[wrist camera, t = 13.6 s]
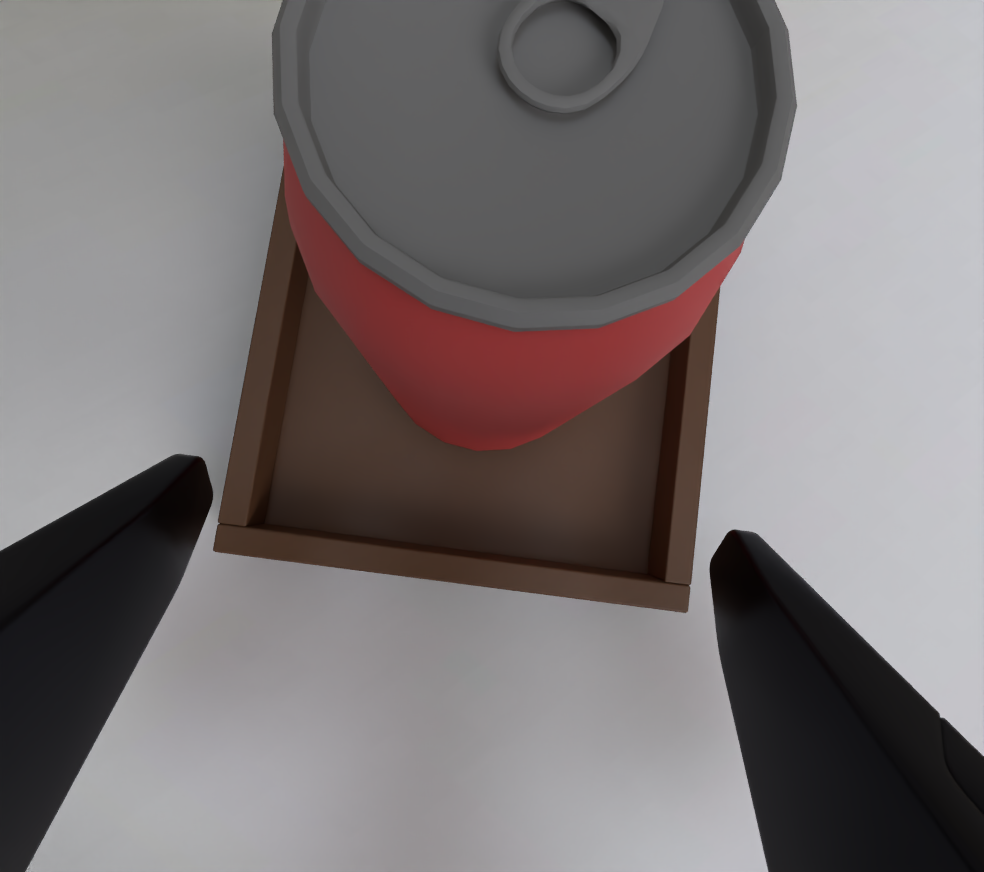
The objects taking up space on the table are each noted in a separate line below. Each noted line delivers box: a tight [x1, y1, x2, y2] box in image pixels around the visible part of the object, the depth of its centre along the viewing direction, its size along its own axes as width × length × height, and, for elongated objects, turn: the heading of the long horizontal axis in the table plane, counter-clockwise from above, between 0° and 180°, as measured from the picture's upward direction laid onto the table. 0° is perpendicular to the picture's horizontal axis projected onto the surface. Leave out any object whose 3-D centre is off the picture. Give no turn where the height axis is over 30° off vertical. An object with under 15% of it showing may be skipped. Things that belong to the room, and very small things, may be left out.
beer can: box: [272, 0, 797, 451], centre depth 12 cm, size 7×7×12 cm
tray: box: [213, 167, 720, 613], centre depth 17 cm, size 15×14×2 cm
